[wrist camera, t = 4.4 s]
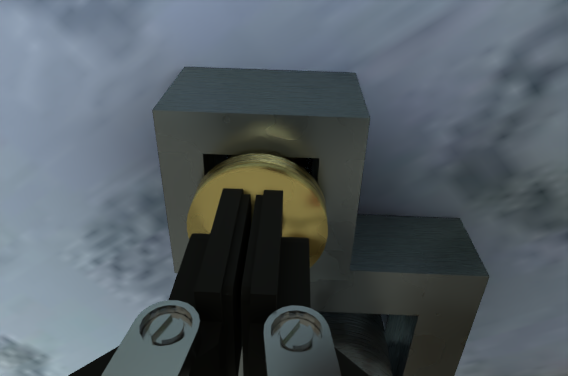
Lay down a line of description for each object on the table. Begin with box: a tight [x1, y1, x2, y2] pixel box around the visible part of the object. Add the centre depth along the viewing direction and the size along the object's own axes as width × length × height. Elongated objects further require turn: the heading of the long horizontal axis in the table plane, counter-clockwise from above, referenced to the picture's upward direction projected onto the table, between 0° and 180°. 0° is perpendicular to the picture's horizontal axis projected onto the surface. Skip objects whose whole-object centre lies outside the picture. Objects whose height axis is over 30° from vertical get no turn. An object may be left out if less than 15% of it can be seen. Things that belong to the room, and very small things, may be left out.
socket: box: [152, 67, 489, 376], centre depth 18 cm, size 11×16×4 cm
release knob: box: [187, 153, 328, 267], centre depth 15 cm, size 4×4×5 cm
